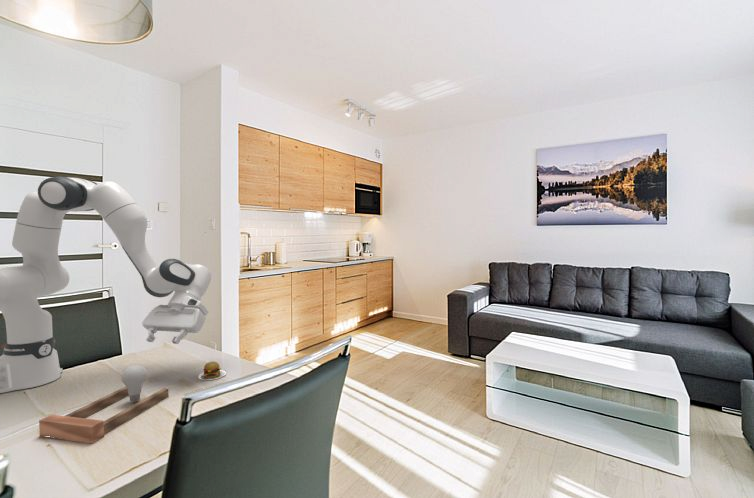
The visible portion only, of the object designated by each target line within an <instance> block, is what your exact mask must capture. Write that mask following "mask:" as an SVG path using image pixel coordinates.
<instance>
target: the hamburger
mask: <svg viewBox="0 0 754 498" xmlns="http://www.w3.org/2000/svg"><path fill="white" fill-rule="evenodd" d="M221 373H222V374H223V375H222V376H220V374H221ZM226 374H227V372H226V371H225V370H224V369H222V368H221V367H220V363H218V362H216V361H209V362H207V363H205V364H204V367H203V371H202V373H199V375H198V376H197V377H198V379H199V380H202V381H206V379H208V381H214V380H217V379H220V378H223V377H224V376H226ZM202 376H204V379H203V378H202Z"/></svg>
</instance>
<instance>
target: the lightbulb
mask: <svg viewBox="0 0 754 498" xmlns="http://www.w3.org/2000/svg"><path fill="white" fill-rule="evenodd" d="M146 378H147V369H146V368H145V367H144V366H143V365H140V364H133V365H129V366H128V367H127V368H125V369H124V371H123V372H122V375H121V382H122V383H123V385H124V387H127V389H128V394H129V396H128V397H129V402H130V403H138V402H139V401H140V399H141V392H142V387H143V383H144V382H145V381H146Z"/></svg>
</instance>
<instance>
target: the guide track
mask: <svg viewBox="0 0 754 498" xmlns="http://www.w3.org/2000/svg"><path fill="white" fill-rule="evenodd" d="M127 397H129V394H128V389H127V387H126V386H123V387H122V388H120V389H118V390H116V391H113V392H112V393H109V394H107V395H105V396H103V397H100V398H99V399H97V400H95V401H92V402H90V403H89V404H87V405H84V406H82V407H81V408H78V409H75V410H74V411H72V412H69V413H68V414H66V415H59V414H50V415H48V416H46V417H43V418H41V419H40V420H39V421H38V424H39V427H38V429H39V437H42V438H44V437H43V436H50V437H54V438H53V439H55V438H58V440H62V439H63V440H64V441H72V442H79V443H85V444H86V443H87V444H94V443H95V442H97V441H99V440H101V439H102V438H104V437H105V435H106V434H108V433H109V432H111V431H112V430H114V429H116V428H118V427H119V426H122V425H123V424H125V423H127V422H128V421H130V420H132V419H133V418H134V417H136V416H139V415H140V414H141V413H143V412H145V411H147V410H149V409H150V408H152V407H154V406H155V405H157V404H158V403H160V402H162V401H164V400H165V399H168V398H169V388H162V389H160V390H159V391H158V390H157V391H156V392H154V393H153V394H150V395H149V396H148V397H147V396H146V397H145V398H144V399H142V400H139V401H137V402H135V403H134V404H132V405H131V406H129V407H127V408H125V409H124V410H122V411H120V412H118V413H116V414H115V415H113V416H111V417H109V418H107V419H106V420H102V419H93V418H92V419H91V418H89V417H90V416H92V415H94V414H95V413H97V412H99V411H101V410H103V409H105V408H107V407H109V406H112V405H114V404H115V403H117V402H119V401H121V400H123V399H126V398H127Z"/></svg>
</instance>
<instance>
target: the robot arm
mask: <svg viewBox="0 0 754 498" xmlns="http://www.w3.org/2000/svg"><path fill="white" fill-rule="evenodd" d="M21 202H22V203H21V205H20V206H19V207H20V208H19V210H18V213H17V216H16V221H15V227H14V230H13V235H12V236H13V237H12V240H11V241H12V242H11V245H12V247H13V249H14V250H15V251H17V252H18V253H21V256H22V259H23V261H22V262H23V263H22V265H19V266H17V265H16V266H9V267H2V268H0V313H2V316H3V318H4V322H5V329H6V330H5V331H6V343H2V344H1V349H3V352H2V355H0V394H3V393H8V392H13V391H19V390H25V389H30V388H34V387H35V388H36V387H39V386H43V385H46V384H49V383H52V382H54V381H56V380H58V379H60V377H61V376H62V375H61V373H63V370H64V369H63V367H60V363H59V362H60V360H59V355H58V351H57V349H55V346H56V339H55V336H54V335H53V334H54V333H53V331H54V330H53V316H52V314H51V313H50V312H49V311H48V310H46V309H43V308H42V307H41V305H40V303H39V300H38V298H40V297H44V296H49V295H53V294H56V293H57V292H61V291H62V290H63V289H65V288H66V287H67V286H68V284H69V283H70V274H69V272H68V270H67V269H66V268H65V267H64V266H63V264H61V261H60V257H59V244H60V237H61V233H62V227H63V221H64V217H65V215H67V213H70V212H90V211H94V210H95V211H96V212H97V213H98V214H99V216H100V217H101V218H102V219H103V221H104V222H105V223H106V224H107V226H108V228H110V230H111V231H112V232H113V235H115V237H116V238H117V240H118V242H119V244H120V245H121V247H122V250H123V251H124V252H125V254H126V255H127V257H128V259H129V260H130V262H131V263H132V264H133V266H134V267H135V269H136V270H137V272H138V274H139V275H140V278H141V280H142V284H143V288H144V289H145V291H146V292H147V293H148V294H149V295H150V296H153V297H155V298H165V297H168V296H170V295H172V293H173V292H174V294H173V296H172V297H171V298H170V300H169V302H168V303H167V304H159V305H158V306H155V307H153V309H151V311H150V312H148V314H147V315H146V316H145V318H144V319H143V321H142V322H141V323H142V327H144V328H145V329H146V330H147V331H148V336H147V338H146V339H145V340H146V341H147V342H148V343H154V341H155V339H156V336H155V334H156V333H158V332H172V333H173V332H175V333H178V334H177V335H176V336H173V338H172V339H171V342H172V344H176V345H179V344H180V342H181V340H182V339H183V338H185V337H187V335H188V334H189V333H190V334H191V333H192V334H196V333H199V332H201V330H202V328H203V326H204V324H205V322H206V318H207V317H206V316H207V315H208V314H209V310H208V308H207V307H206V306H205V305H204V304H203V303H202V302H201V299H202V298H203V296H204V295H205V294H206V292H207V290H208V289H209V287H210V284H211V280H212V272H211V271H210V270H209V268H207V267H206V266H205V265H202V264H199V263H196V264H195V263H194V264H190V263H185V262H183V261H181V260H179V259H177V258H167V259H165V260H163V261H162V262H161V263H160V264H159V265H158V263H157V261H156V260H155V259H154V257H153V256H152V254H151V253H150V251H149V250H148V248H147V245H146V235H147V230H148V225H149V224H148V218H147V216H146V214H145V213H144V210H143V209H142V208H141V206H140V205H139V204H138V203H137V201H136V200H135V199H134V198H133V197H132V196H131V195H130V193H128V192H127V190H125V188H123V187H122V186H121V185H120V184H118V183H116V182H114V181H109V180H107V181H102V182H101V181H100V182H99V183H97V182H95V181H94V180H93V181H92V180H88V179H84V178H80V177H74V176H73V177H67V176H51V177H48V178H46V179H43V180H42V181H41V182H40V183H39V185H38V187H37V190H36V191H31V192H29V193H27V194H26V195H25V197H24V198H23V200H22V201H21Z"/></svg>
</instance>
